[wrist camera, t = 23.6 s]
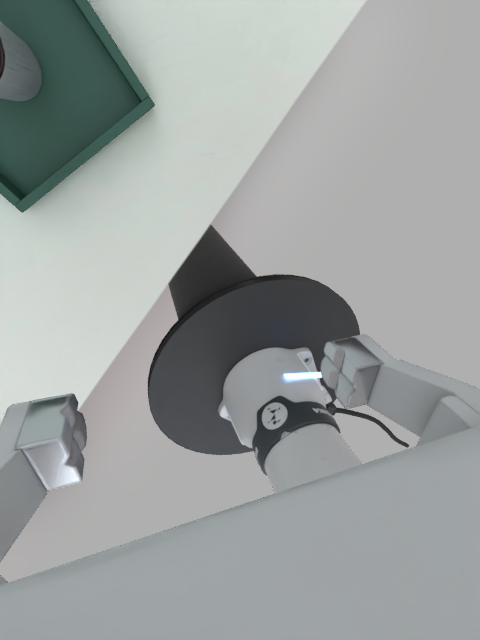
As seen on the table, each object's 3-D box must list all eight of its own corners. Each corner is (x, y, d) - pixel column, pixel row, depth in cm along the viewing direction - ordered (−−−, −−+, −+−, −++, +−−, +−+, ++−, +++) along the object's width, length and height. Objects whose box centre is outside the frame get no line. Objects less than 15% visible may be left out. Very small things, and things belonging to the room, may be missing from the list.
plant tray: (152, 106, 29) (155, 105, 27) (28, 207, 30) (22, 213, 28) (-10, -144, 20) (-25, -173, 18) (-181, 14, 21) (-213, 3, 19)
